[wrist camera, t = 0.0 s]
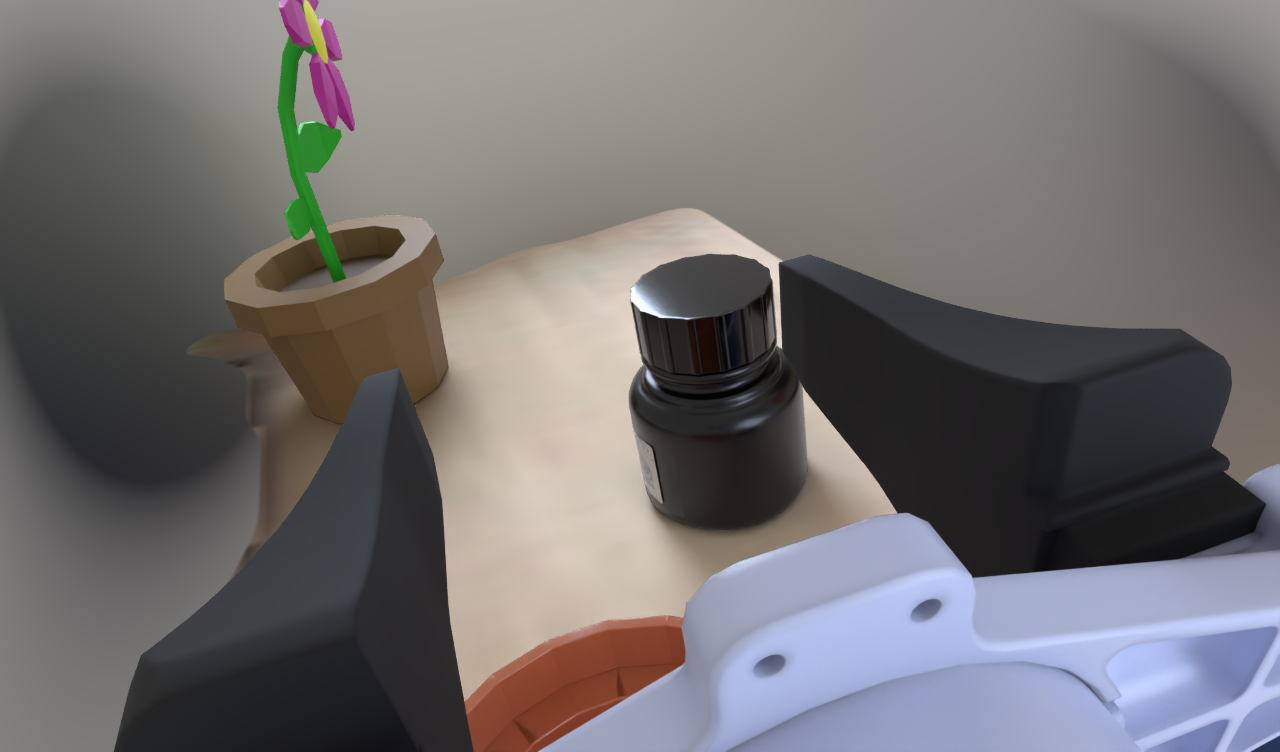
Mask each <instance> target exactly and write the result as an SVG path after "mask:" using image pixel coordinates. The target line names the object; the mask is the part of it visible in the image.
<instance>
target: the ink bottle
mask: <svg viewBox="0 0 1280 752" xmlns="http://www.w3.org/2000/svg"><path fill="white" fill-rule="evenodd" d="M630 303H631V308H632V313H633V319H634V324H635V329H636V334H637V340H638V345H639V350H640V354H641V359H642V362H643V364H644V365H643V366H642V367H641V368H640V369H639V371H638V372H637V373H636V375H635V377H634V379H633V381H632V383H631V386H630V391H629V408H630V413H631V418H632V424H633V429H634V433H635V438H636V443H637V448H638V453H639V458H640V463H641V468H642V472H643V477H644V482H645V486H646V490H647V493H648V496H649V498H650V500H651V501H652V503H653V504H654V505H655V506H656V507H657V508H658V509H659V510H660V511H661V512H662V513H664V514H665V515H667V516H668V517H670V518H672V519H674V520H676V521H678V522H681V523H683V524H687V525H690V526H694V527H698V528H704V529H714V530H732V529H741V528H747V527H751V526H755V525H758V524H760V523H763V522H765V521H767V520H769V519H771V518H773V517H775V516H777V515H778V514H779V513H781V512H782V511H784V510H785V509H786V508H787V507H788V506H789V505H790V504H791V503H792V502H793V501H794V500H795V499H796V498H797V496H798V495H799V493H800V492H801V490H802V488H803V486H804V484H805V481H806V477H807V471H808V462H807V448H806V433H805V418H804V404H803V389H802V384H801V383H800V381H799V379H798V378H797V376H796V375H795V373H794V371H793V369H792V367H791V366H790V364H789V362H788V360H787V359H786V357H785V355H784V353H783V351H782V349H781V348H780V347H778V346H776V344H777V329H776V317H775V305H774V293H773V282H772V279H771V276H770V270H769V269H768V268H767V267H765V266H763V265H762V264H760V263H759V262H758V261H757V260H755V259H749V258H745V257H741V256H738V255H733V254H732V255H721V254H706V255H701V256H694V257H685V258H681V259H679V260H676V261H673V262H670V263H667V264H663V265H660V266H658V267H657V268H655V269H653V270H652V271H650V272H648V273H646V274H645V275H642V276H641V277H640V279H639V280H638V281H637V282H636V284H635V285H634V286H633V287H631V299H630Z"/></svg>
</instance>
